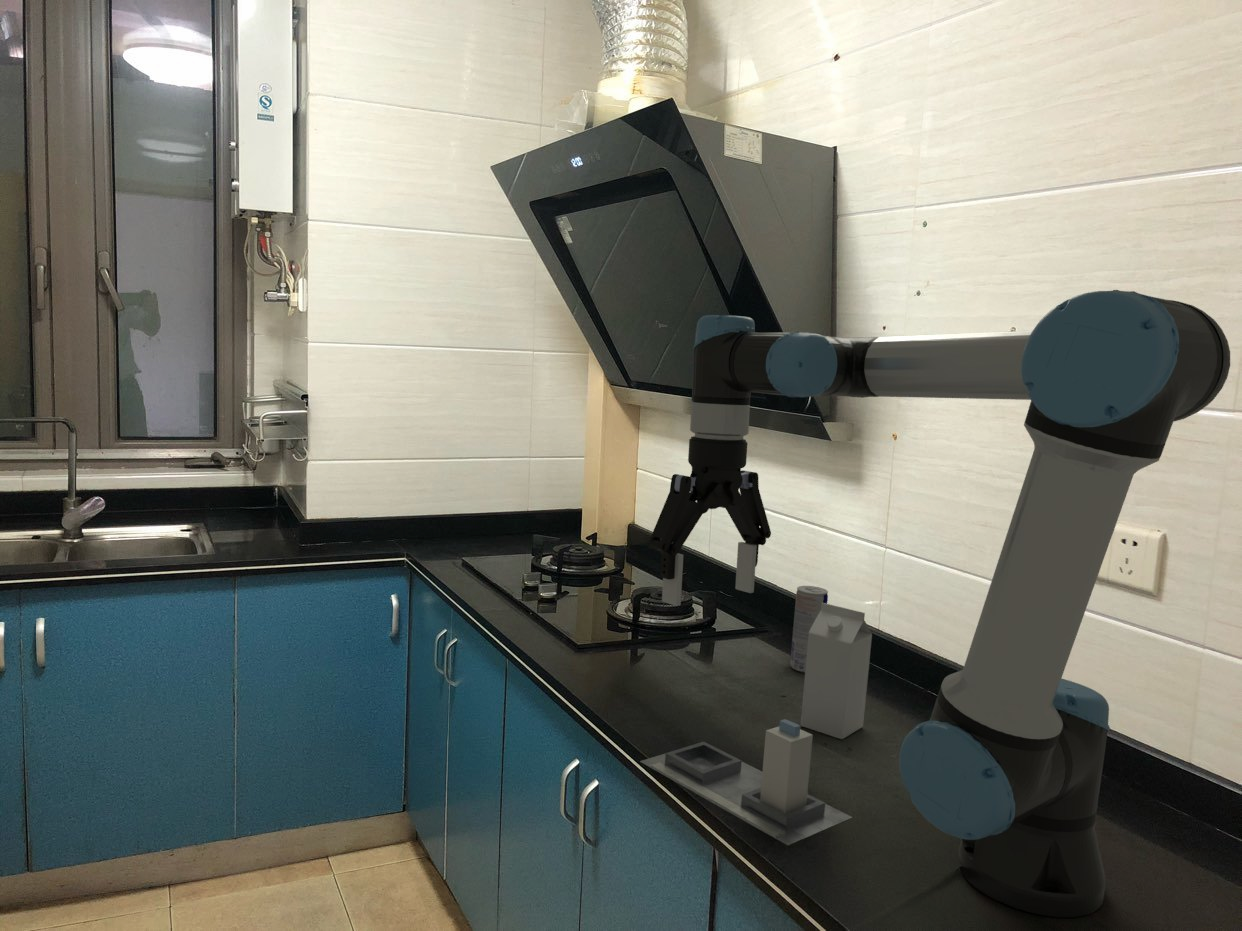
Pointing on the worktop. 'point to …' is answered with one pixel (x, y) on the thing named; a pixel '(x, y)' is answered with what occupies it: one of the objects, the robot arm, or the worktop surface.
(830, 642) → the milk carton
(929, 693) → the worktop surface
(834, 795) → the worktop surface
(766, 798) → the plug
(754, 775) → the panel
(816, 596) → the beverage can
